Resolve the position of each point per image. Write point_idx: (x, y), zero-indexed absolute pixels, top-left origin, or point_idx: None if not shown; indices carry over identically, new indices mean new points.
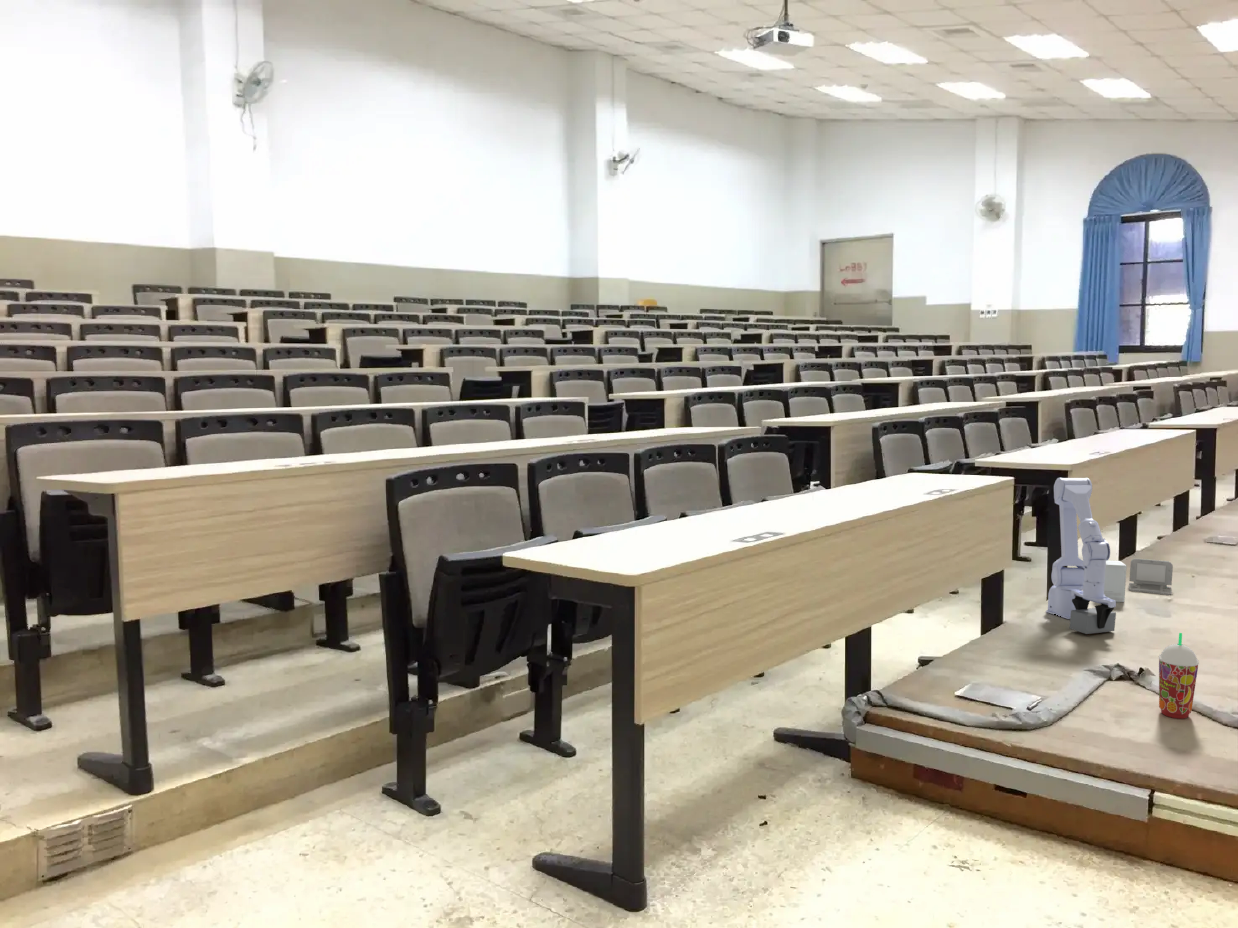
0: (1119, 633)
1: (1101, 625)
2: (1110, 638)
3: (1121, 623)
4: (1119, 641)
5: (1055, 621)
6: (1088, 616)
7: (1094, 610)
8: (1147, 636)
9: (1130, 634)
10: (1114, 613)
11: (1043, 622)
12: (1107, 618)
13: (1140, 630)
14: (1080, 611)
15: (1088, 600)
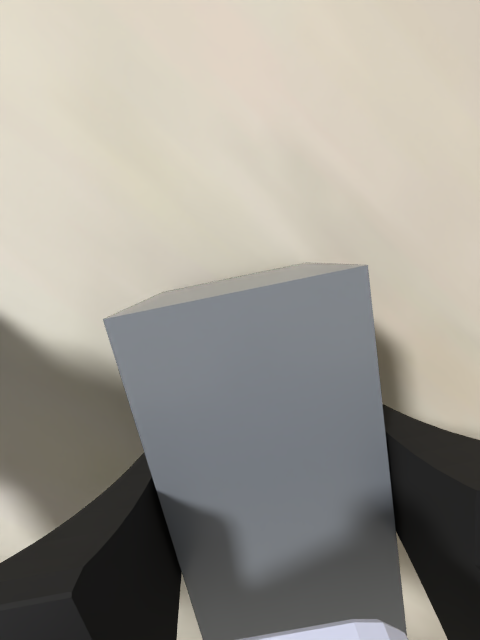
0: (329, 239)
1: None
2: (392, 365)
3: (106, 18)
4: (456, 352)
5: (17, 458)
6: (401, 619)
7: (238, 464)
8: (457, 77)
9: (373, 177)
10: (367, 292)
11: (34, 524)
12: (409, 419)
13: (317, 3)
14: (260, 617)
15: (103, 586)
